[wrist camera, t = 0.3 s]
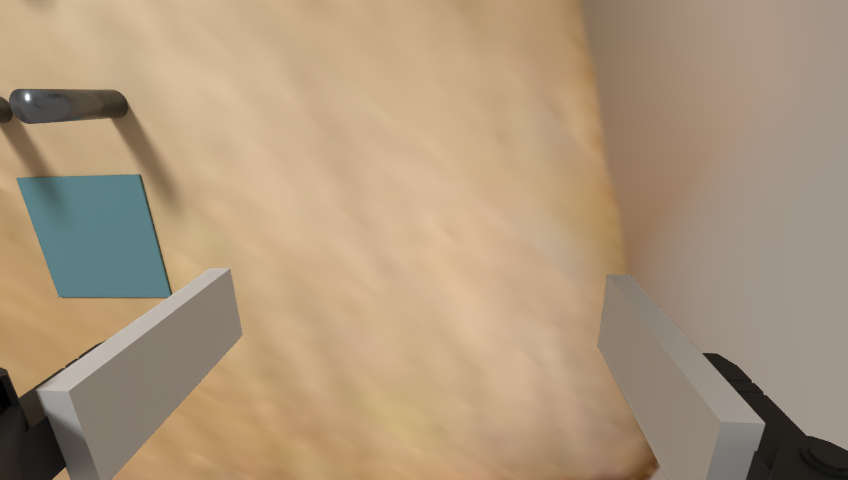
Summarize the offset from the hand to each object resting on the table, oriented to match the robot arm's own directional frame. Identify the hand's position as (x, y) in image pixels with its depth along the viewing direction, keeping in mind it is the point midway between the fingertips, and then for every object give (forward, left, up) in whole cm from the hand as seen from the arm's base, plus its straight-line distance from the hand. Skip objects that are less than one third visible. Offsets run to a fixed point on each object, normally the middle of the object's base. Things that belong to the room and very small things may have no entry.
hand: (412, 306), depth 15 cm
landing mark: (+7, -39, -28) cm, 48 cm away
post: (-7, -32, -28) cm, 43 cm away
